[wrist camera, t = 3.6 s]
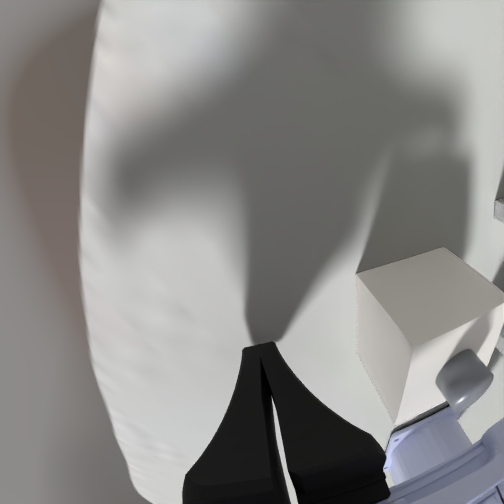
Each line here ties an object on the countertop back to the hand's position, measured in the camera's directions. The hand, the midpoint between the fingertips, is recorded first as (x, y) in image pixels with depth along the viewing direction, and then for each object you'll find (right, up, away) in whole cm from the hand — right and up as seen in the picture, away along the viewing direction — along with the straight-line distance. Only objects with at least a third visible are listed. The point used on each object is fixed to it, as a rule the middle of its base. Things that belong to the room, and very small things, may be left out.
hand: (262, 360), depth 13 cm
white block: (+7, +2, +1) cm, 7 cm away
